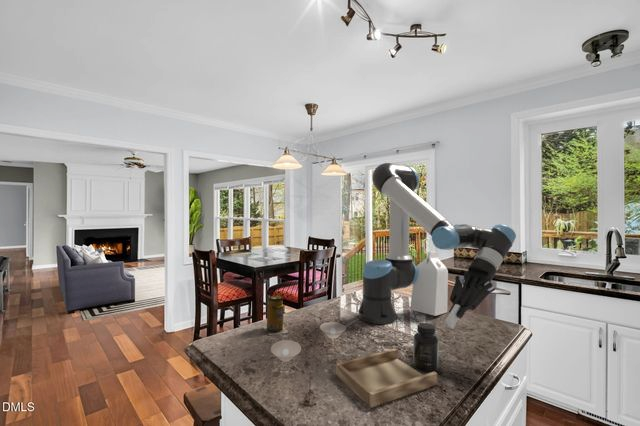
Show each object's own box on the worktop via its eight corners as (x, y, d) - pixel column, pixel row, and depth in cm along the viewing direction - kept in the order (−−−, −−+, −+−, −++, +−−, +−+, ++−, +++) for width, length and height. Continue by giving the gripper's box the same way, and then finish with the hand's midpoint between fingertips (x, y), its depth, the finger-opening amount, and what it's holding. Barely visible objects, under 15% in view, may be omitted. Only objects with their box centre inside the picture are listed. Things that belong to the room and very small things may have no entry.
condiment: (281, 324, 122) (281, 293, 122) (288, 332, 114) (289, 299, 114) (262, 327, 119) (262, 296, 119) (269, 336, 111) (269, 302, 111)
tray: (395, 358, 96) (395, 348, 96) (436, 384, 82) (437, 373, 82) (335, 374, 86) (335, 363, 86) (370, 408, 72) (371, 395, 72)
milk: (423, 306, 148) (426, 250, 149) (447, 312, 139) (451, 253, 141) (410, 309, 139) (414, 250, 140) (434, 315, 131) (439, 253, 132)
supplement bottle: (443, 369, 90) (444, 327, 90) (427, 375, 86) (428, 332, 86) (423, 359, 96) (424, 319, 95) (408, 365, 92) (408, 324, 92)
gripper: (510, 276, 98) (474, 339, 90) (472, 269, 109) (438, 325, 101) (499, 260, 95) (462, 324, 87) (462, 254, 107) (426, 310, 99)
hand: (449, 324), depth 94 cm, fingers closed
